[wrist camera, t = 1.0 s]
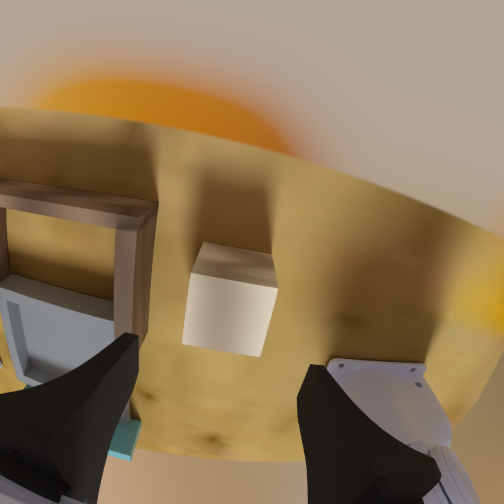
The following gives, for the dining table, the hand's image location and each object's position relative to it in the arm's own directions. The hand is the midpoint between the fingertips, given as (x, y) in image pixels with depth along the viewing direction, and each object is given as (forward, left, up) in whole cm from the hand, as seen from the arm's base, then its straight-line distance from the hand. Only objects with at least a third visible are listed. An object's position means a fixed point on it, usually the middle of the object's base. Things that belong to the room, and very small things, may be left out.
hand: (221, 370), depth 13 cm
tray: (+12, +10, -9) cm, 18 cm away
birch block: (0, 0, -9) cm, 9 cm away
